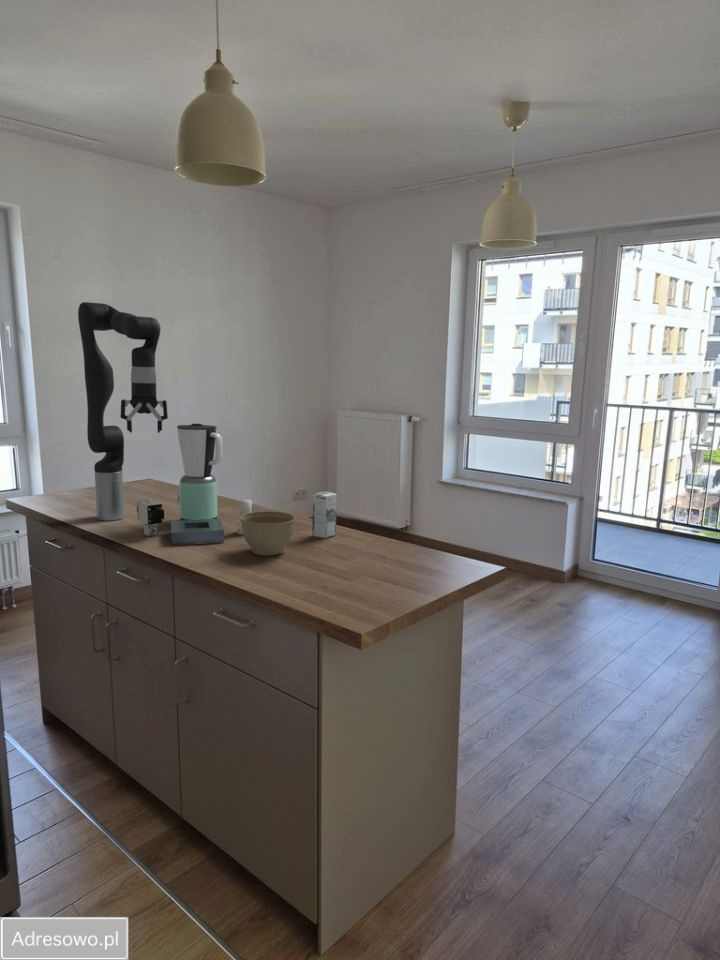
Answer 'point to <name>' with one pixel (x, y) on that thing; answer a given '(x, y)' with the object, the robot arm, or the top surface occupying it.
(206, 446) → the mint green blender
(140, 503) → the pneumatic valve
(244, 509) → the white stepped cylindrical peg
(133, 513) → the top surface
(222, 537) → the bore block
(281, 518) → the planter bowl
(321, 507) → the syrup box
